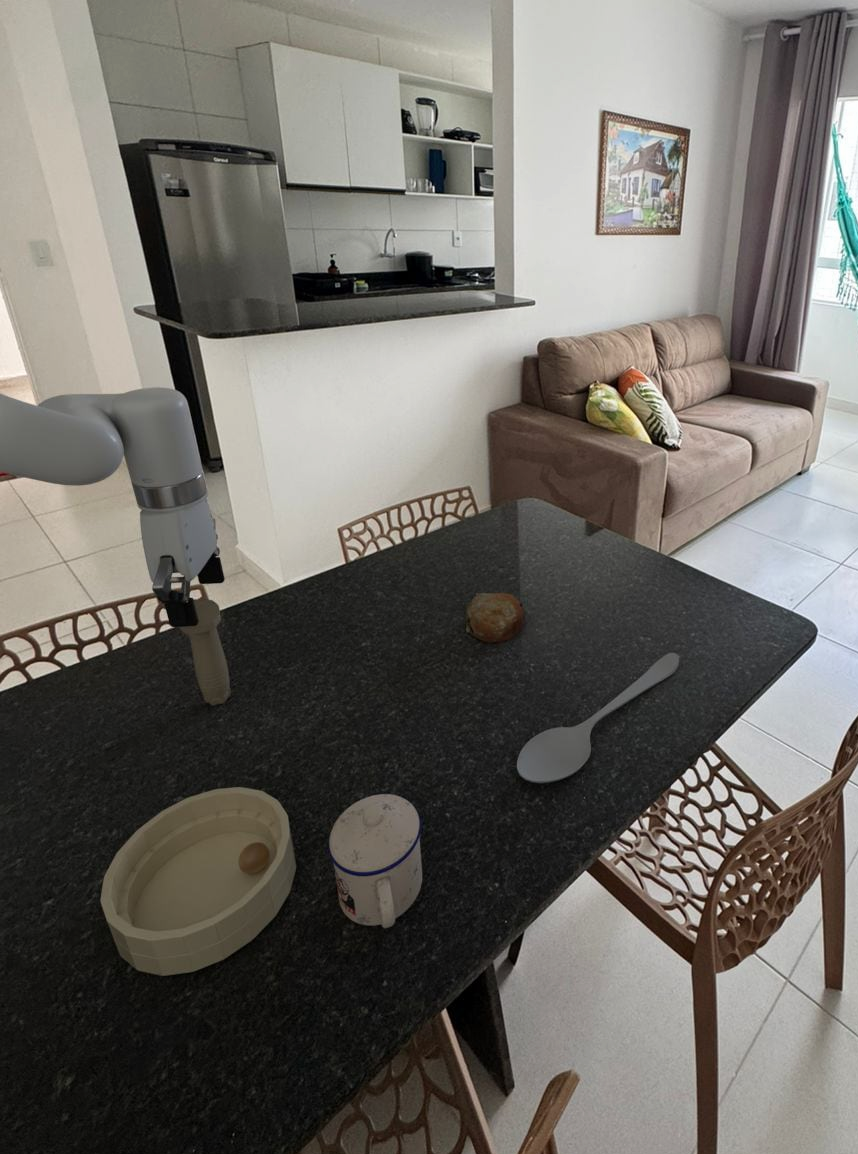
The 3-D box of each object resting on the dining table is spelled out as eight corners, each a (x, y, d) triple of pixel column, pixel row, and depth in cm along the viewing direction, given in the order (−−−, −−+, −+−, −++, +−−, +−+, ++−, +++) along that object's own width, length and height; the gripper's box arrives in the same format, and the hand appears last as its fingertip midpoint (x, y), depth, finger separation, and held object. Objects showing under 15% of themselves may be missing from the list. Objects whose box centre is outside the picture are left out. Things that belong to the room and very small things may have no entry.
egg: (237, 881, 71) (232, 863, 70) (245, 856, 74) (241, 837, 72) (267, 878, 71) (262, 859, 70) (274, 853, 74) (270, 834, 73)
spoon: (543, 808, 82) (544, 793, 81) (499, 772, 86) (500, 757, 85) (693, 678, 107) (696, 665, 106) (654, 655, 112) (656, 642, 111)
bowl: (81, 991, 61) (64, 951, 59) (159, 832, 76) (147, 794, 74) (272, 965, 64) (263, 926, 62) (311, 817, 79) (305, 780, 77)
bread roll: (464, 634, 118) (446, 607, 113) (508, 596, 122) (492, 568, 117) (495, 664, 111) (477, 636, 106) (540, 622, 115) (524, 594, 110)
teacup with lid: (333, 865, 74) (321, 790, 69) (416, 837, 77) (410, 765, 73) (343, 973, 64) (330, 895, 59) (438, 936, 68) (433, 859, 63)
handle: (199, 719, 92) (177, 631, 86) (198, 690, 97) (178, 605, 91) (238, 708, 94) (220, 621, 88) (235, 680, 99) (218, 596, 93)
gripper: (167, 461, 89) (193, 569, 96) (101, 523, 73) (139, 646, 81) (227, 460, 90) (249, 567, 97) (175, 520, 75) (206, 642, 82)
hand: (199, 602), depth 89 cm, fingers open, 9 cm apart
